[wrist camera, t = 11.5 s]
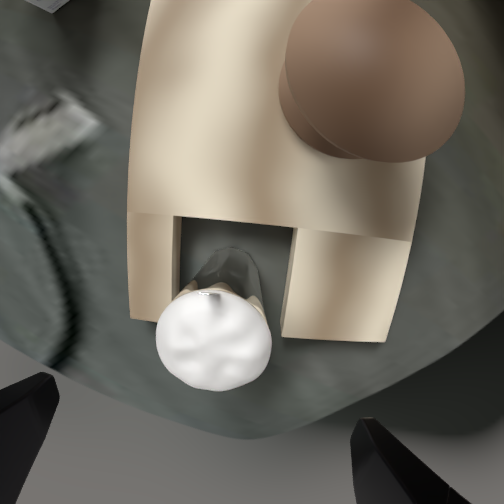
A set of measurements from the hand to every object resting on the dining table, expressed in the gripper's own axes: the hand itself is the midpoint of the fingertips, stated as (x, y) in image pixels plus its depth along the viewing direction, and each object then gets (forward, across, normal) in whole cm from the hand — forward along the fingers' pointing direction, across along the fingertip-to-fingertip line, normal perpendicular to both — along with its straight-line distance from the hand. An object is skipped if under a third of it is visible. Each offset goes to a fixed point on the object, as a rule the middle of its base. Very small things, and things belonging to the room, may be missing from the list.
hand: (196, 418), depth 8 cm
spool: (+10, -5, -11) cm, 16 cm away
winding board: (+12, -2, -7) cm, 14 cm away
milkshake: (+13, 0, 0) cm, 13 cm away
